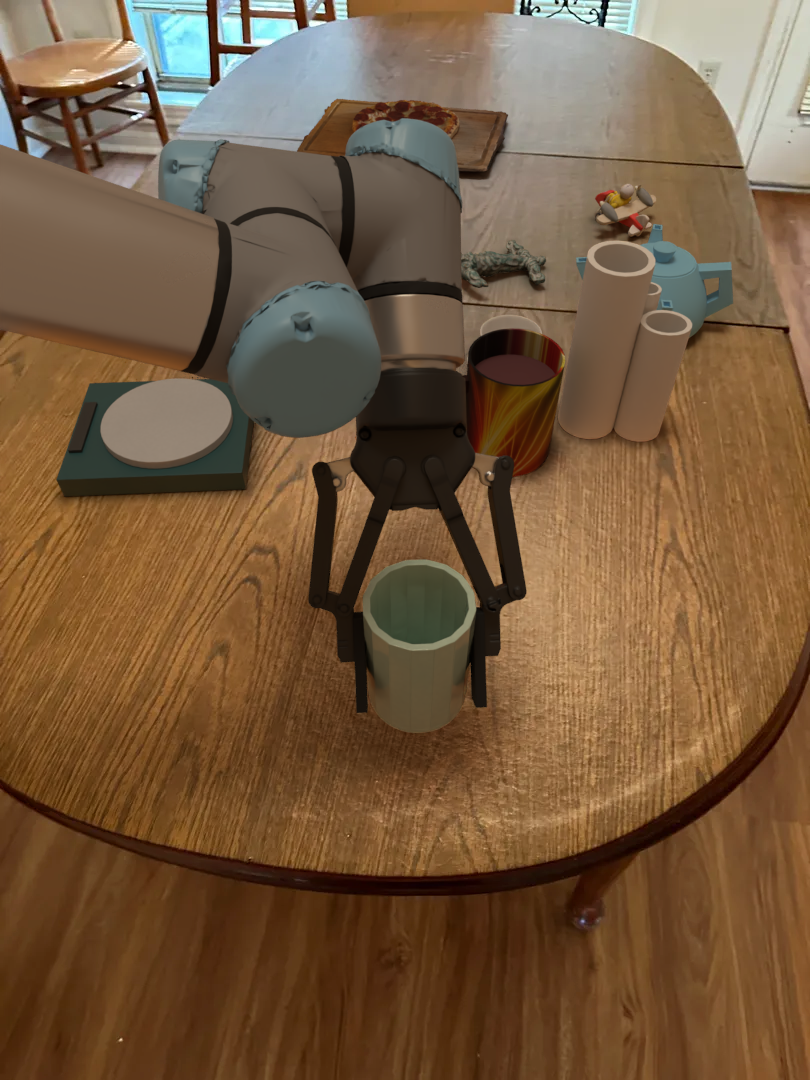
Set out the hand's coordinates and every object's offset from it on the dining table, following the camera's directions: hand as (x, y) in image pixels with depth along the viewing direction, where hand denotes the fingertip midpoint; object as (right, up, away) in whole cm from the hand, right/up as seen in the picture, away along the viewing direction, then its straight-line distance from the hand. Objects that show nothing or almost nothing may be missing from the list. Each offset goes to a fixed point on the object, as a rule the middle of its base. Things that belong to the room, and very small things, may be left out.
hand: (420, 704), depth 55 cm
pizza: (-1, +83, +86) cm, 120 cm away
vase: (+22, +25, +35) cm, 49 cm away
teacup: (+12, +33, +42) cm, 55 cm away
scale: (-28, +22, +33) cm, 49 cm away
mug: (+8, +21, +32) cm, 39 cm away
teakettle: (+30, +40, +48) cm, 69 cm away
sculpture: (+10, +48, +55) cm, 74 cm away
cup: (0, 0, +5) cm, 5 cm away
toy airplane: (+32, +59, +65) cm, 93 cm away
